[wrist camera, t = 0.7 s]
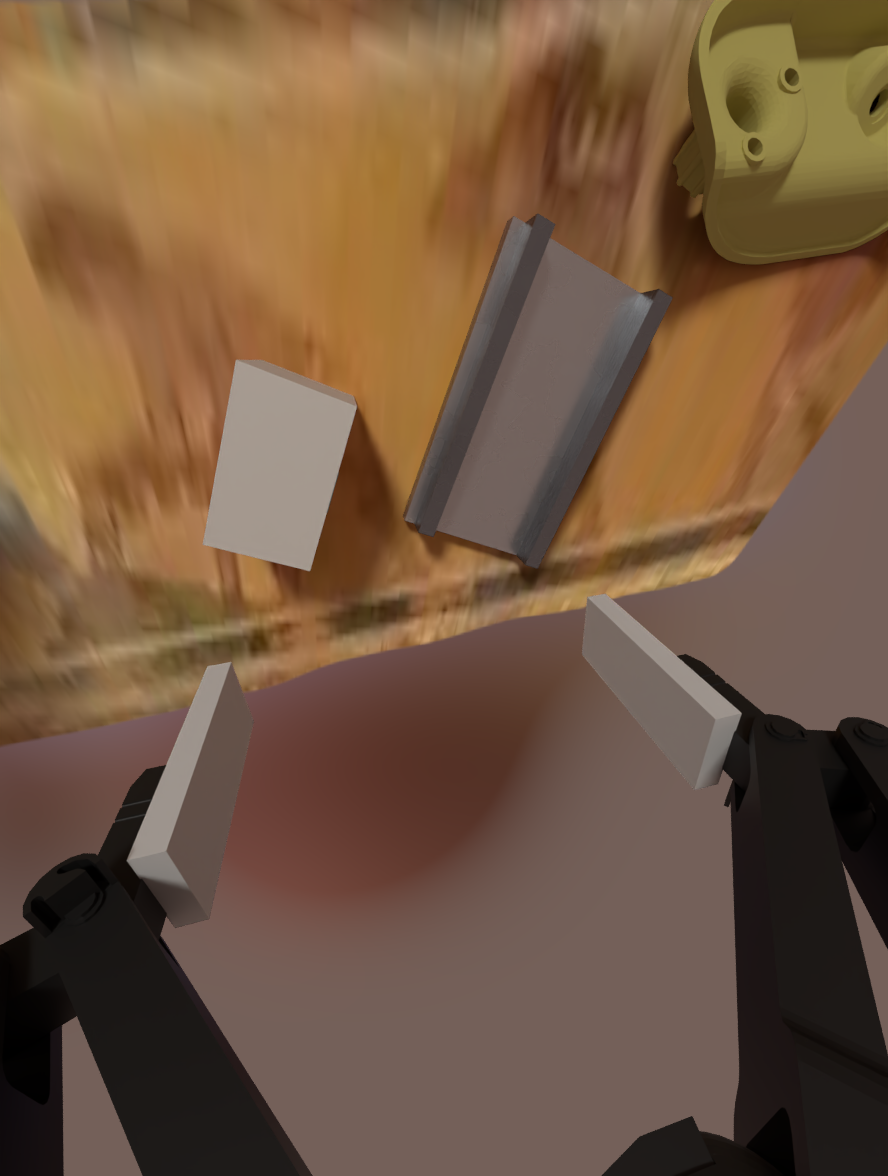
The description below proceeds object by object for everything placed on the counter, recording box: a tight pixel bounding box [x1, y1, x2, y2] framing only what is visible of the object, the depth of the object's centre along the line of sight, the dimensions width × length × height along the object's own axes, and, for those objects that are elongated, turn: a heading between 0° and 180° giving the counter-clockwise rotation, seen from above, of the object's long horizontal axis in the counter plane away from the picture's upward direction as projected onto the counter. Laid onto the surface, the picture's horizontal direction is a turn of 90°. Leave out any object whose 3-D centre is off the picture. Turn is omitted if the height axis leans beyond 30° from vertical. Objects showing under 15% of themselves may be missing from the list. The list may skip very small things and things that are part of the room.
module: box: [203, 360, 357, 571], centre depth 28 cm, size 6×10×8 cm, turn 159°
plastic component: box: [673, 0, 888, 264], centre depth 27 cm, size 20×7×10 cm
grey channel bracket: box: [403, 214, 672, 569], centre depth 32 cm, size 12×20×3 cm, turn 159°
